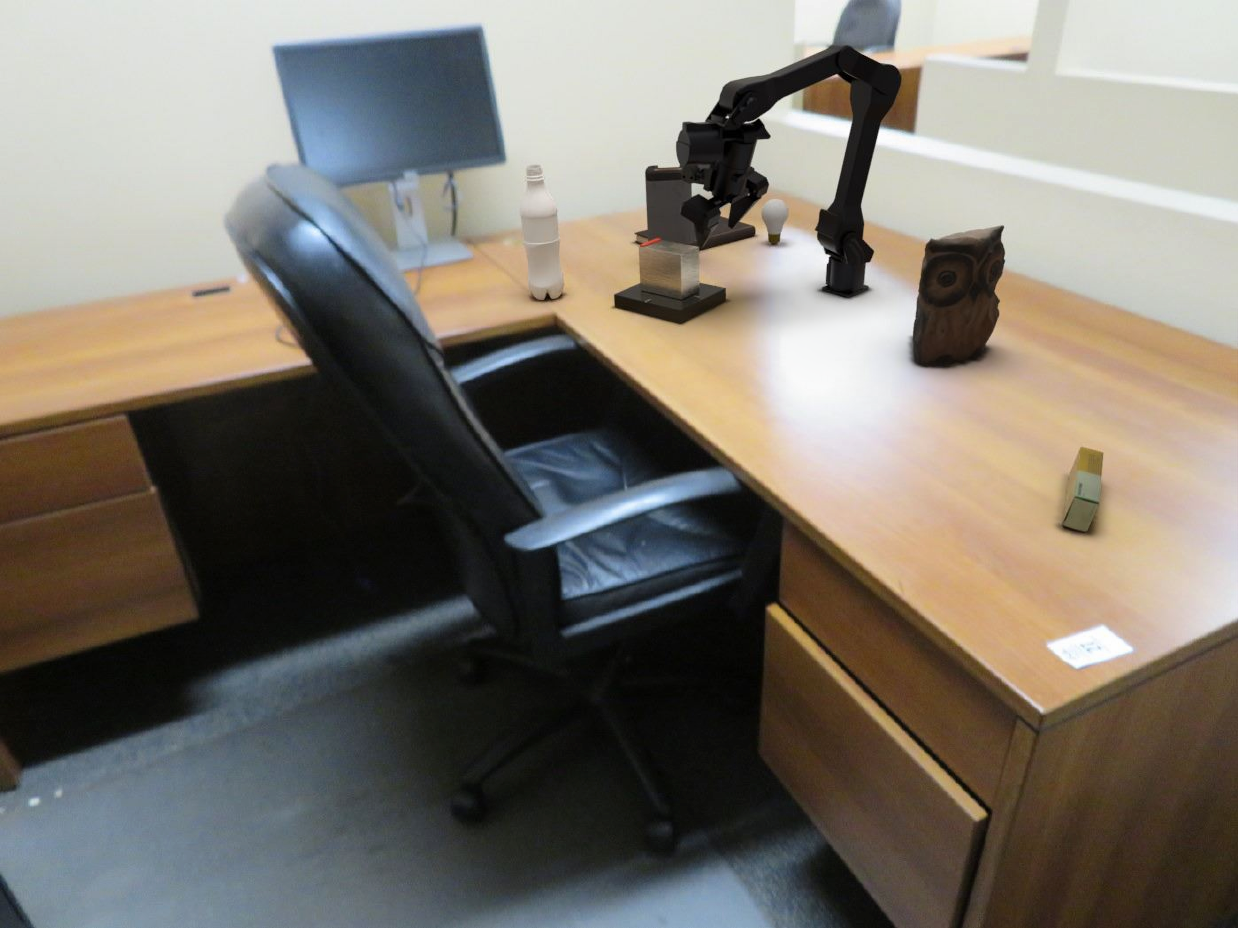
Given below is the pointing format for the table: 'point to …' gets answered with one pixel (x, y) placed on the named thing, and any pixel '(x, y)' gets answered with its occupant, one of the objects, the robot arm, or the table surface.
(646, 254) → the brushed aluminum block
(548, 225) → the water bottle
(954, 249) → the owl
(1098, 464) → the medication box
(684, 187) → the electronic device
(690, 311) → the dial plate
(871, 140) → the robot arm
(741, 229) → the hardcover book
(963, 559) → the table surface
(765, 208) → the light bulb
